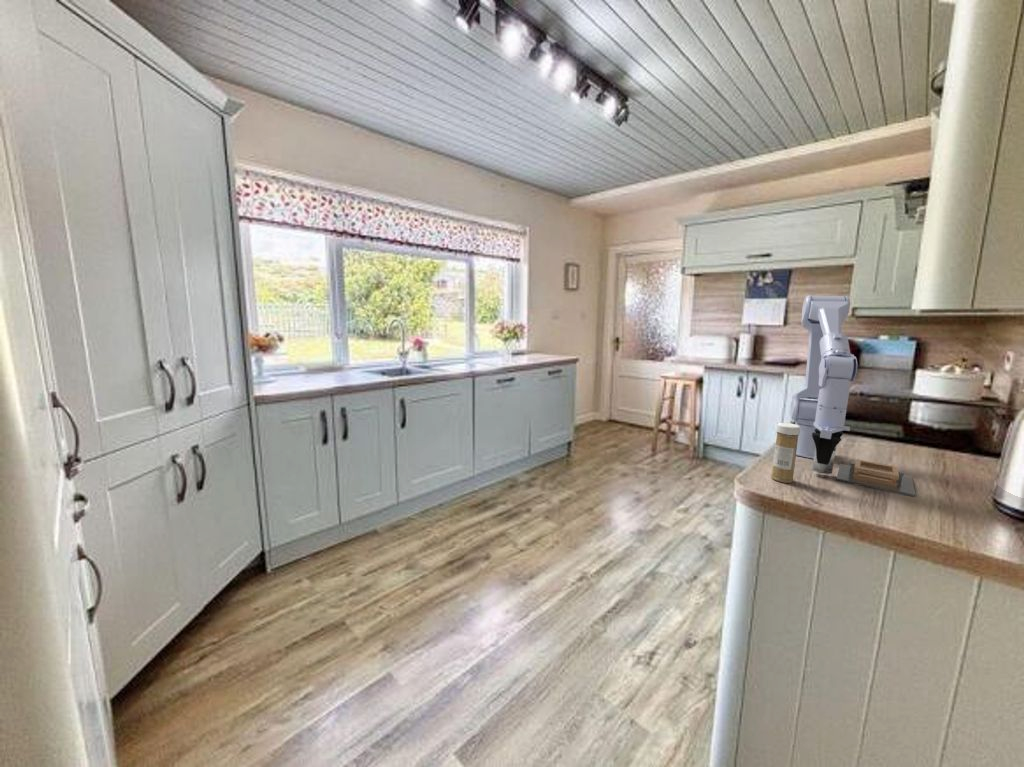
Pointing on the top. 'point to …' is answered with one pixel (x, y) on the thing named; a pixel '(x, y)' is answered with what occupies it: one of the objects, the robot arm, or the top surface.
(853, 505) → the top surface
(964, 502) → the top surface
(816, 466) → the metal cylinder
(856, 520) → the top surface
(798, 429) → the sprinkles bottle
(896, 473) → the collar stand
